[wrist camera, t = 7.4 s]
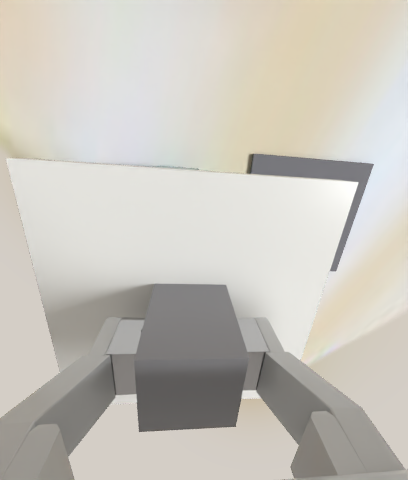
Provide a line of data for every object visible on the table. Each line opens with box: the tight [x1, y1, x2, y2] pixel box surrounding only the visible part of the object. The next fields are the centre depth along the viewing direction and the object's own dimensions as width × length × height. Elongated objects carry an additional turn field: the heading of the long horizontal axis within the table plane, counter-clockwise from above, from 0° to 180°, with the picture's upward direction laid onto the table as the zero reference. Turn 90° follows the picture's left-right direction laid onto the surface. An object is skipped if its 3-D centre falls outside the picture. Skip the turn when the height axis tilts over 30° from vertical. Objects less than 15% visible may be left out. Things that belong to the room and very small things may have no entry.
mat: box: [250, 154, 374, 271], centre depth 25 cm, size 14×14×1 cm
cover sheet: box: [6, 158, 359, 432], centre depth 8 cm, size 12×12×4 cm
